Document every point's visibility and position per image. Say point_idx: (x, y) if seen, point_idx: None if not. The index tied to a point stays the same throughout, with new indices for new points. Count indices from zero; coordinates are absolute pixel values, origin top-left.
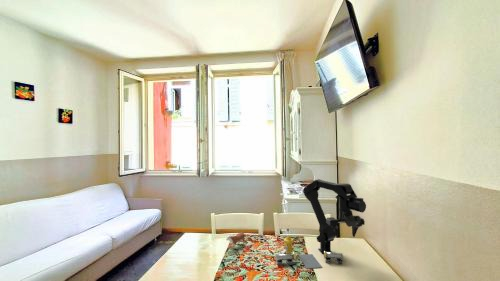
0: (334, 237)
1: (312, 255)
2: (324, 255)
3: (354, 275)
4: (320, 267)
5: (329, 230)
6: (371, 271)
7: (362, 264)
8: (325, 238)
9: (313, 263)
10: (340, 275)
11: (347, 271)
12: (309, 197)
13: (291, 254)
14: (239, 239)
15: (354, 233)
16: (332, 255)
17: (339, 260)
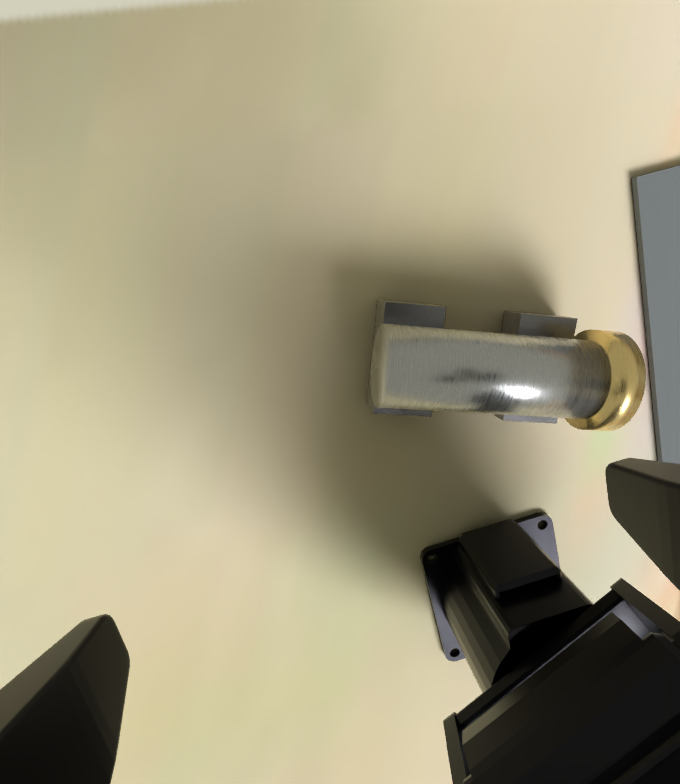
0: (478, 730)
1: (671, 449)
2: (624, 335)
3: (286, 21)
4: (656, 172)
5: None
6: (31, 160)
7: (117, 337)
8: (678, 626)
9: None
10: (465, 3)
11: (352, 121)
12: None
13: None
14: None
15: (24, 703)
16: (521, 341)
17: (413, 324)
